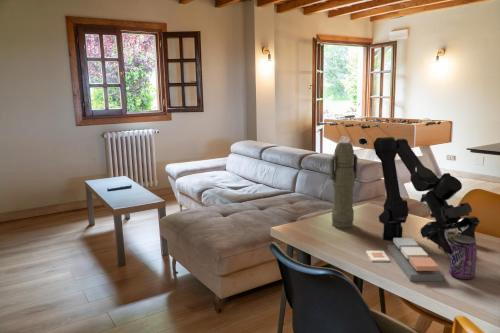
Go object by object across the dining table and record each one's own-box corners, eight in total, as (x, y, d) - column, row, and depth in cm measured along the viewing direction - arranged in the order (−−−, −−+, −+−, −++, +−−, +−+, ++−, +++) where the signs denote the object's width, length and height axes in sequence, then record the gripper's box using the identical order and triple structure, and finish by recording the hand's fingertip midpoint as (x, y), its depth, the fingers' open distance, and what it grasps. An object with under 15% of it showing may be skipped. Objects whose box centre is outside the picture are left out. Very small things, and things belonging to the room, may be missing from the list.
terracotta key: (409, 261, 130) (409, 257, 130) (430, 261, 130) (430, 257, 129) (416, 270, 124) (416, 266, 123) (438, 270, 123) (438, 266, 123)
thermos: (324, 224, 176) (325, 143, 170) (347, 220, 181) (349, 141, 174) (337, 230, 168) (339, 145, 162) (360, 226, 173) (363, 143, 167)
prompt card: (366, 252, 146) (366, 250, 146) (383, 252, 146) (383, 250, 146) (371, 261, 138) (371, 259, 138) (389, 261, 138) (389, 259, 138)
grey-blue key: (393, 241, 147) (393, 238, 146) (411, 241, 146) (411, 237, 146) (398, 248, 140) (399, 244, 140) (418, 248, 140) (418, 244, 140)
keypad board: (387, 250, 147) (387, 244, 147) (415, 250, 147) (416, 244, 147) (410, 281, 124) (410, 275, 124) (444, 281, 123) (444, 275, 123)
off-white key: (400, 251, 138) (400, 247, 138) (420, 251, 138) (420, 247, 138) (407, 259, 132) (407, 254, 132) (427, 259, 132) (428, 254, 131)
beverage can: (444, 271, 130) (446, 235, 128) (465, 269, 131) (468, 233, 129) (457, 281, 123) (460, 243, 121) (479, 280, 124) (483, 242, 122)
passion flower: (452, 270, 143) (443, 249, 137) (429, 253, 152) (420, 233, 146) (476, 250, 144) (468, 228, 138) (452, 234, 153) (443, 213, 147)
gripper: (428, 197, 125) (454, 244, 116) (477, 191, 130) (505, 236, 122) (410, 214, 133) (432, 260, 125) (456, 208, 139) (481, 251, 131)
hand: (463, 251), depth 125 cm, fingers open, 9 cm apart
